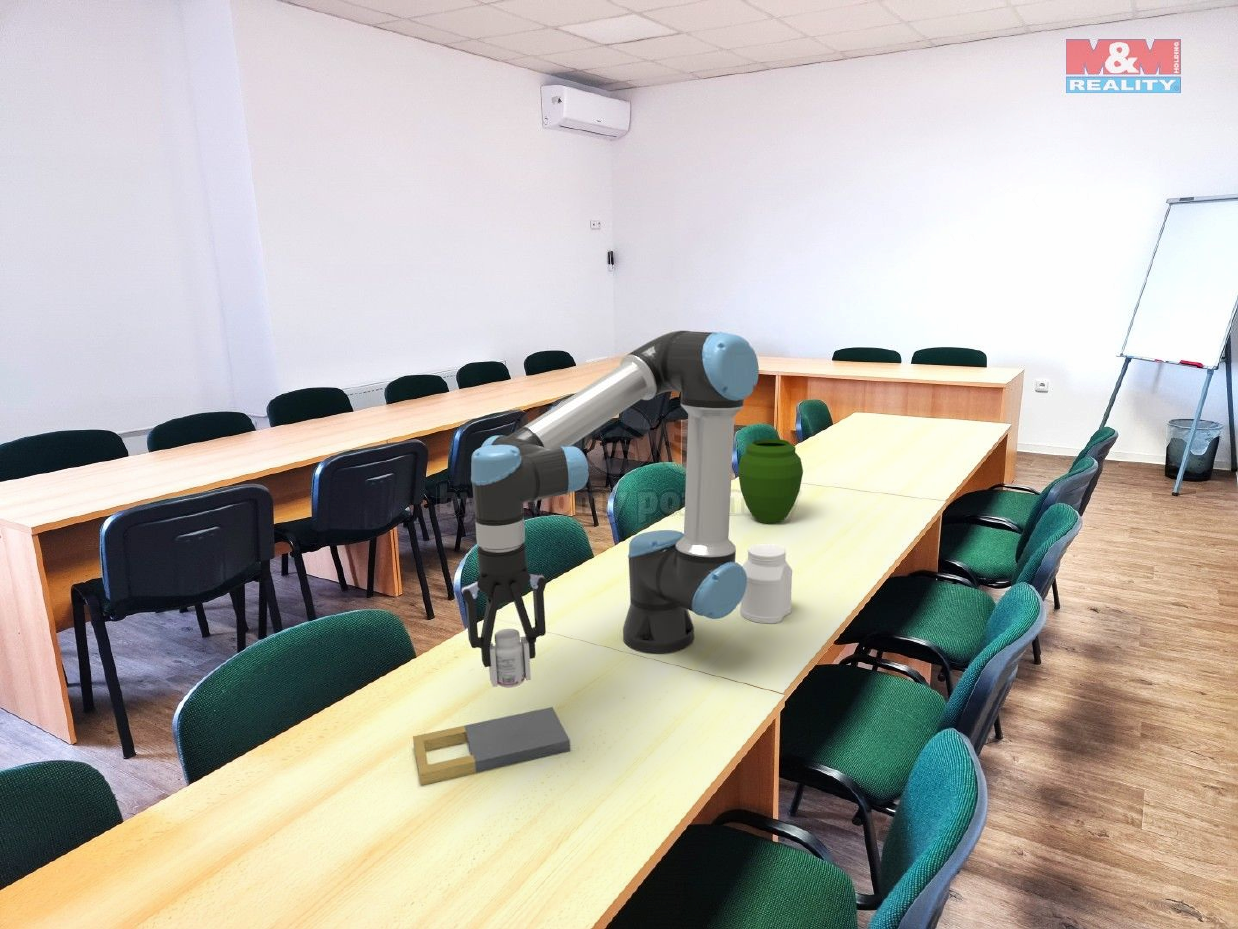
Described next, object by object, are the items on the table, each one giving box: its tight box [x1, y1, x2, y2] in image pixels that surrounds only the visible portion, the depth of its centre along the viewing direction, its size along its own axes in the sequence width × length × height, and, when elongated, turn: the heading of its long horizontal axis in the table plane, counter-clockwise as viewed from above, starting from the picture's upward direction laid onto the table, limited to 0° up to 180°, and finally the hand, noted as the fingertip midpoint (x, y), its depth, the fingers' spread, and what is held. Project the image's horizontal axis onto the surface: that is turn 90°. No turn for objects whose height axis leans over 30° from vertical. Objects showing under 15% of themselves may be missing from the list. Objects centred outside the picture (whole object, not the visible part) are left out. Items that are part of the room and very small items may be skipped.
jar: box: [739, 543, 793, 624], centre depth 178 cm, size 12×10×15 cm
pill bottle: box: [493, 628, 526, 688], centre depth 129 cm, size 5×5×8 cm
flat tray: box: [412, 706, 571, 786], centre depth 132 cm, size 24×11×2 cm, turn 110°
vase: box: [737, 438, 804, 524], centre depth 242 cm, size 20×20×24 cm
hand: (510, 679), depth 130 cm, fingers closed on pill bottle, 5 cm apart
